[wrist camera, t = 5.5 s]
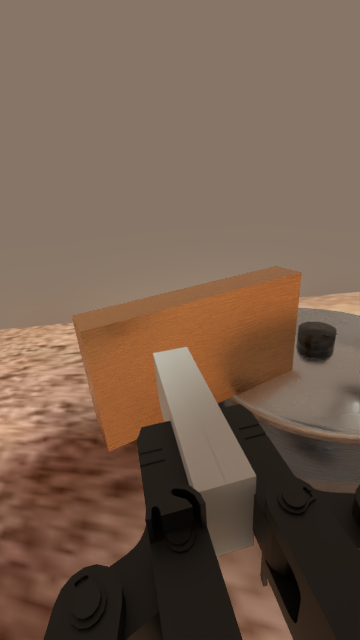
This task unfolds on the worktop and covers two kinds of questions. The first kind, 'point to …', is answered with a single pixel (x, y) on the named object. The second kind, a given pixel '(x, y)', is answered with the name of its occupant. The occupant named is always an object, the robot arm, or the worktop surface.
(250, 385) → the lid
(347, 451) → the pot
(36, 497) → the worktop surface
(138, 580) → the robot arm
